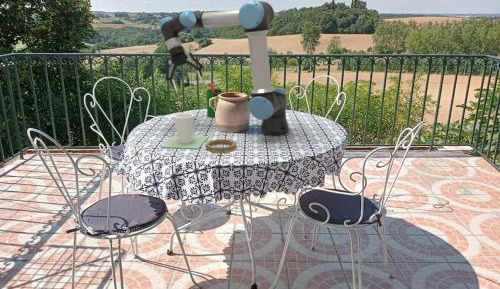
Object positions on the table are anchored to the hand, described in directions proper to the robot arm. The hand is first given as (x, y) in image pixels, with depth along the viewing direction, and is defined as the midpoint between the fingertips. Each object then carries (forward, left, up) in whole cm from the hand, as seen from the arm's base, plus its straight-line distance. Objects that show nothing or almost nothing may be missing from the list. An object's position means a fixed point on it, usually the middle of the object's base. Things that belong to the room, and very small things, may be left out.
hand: (189, 87), depth 201 cm
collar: (-21, +24, -24) cm, 40 cm away
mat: (-2, +18, -24) cm, 30 cm away
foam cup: (-2, +18, -23) cm, 30 cm away
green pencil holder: (-3, -36, -24) cm, 43 cm away
